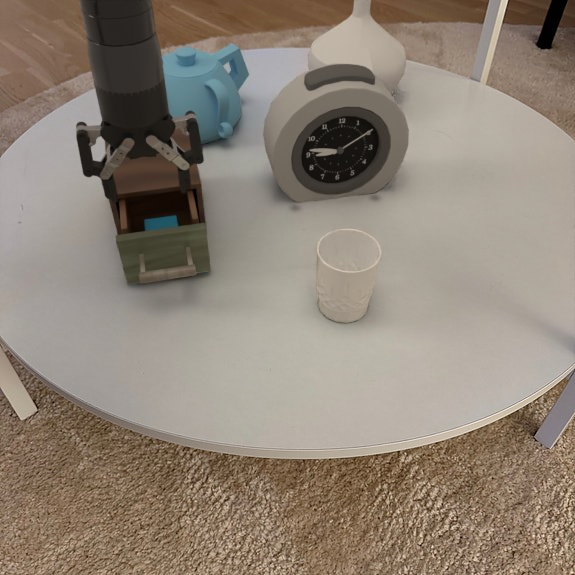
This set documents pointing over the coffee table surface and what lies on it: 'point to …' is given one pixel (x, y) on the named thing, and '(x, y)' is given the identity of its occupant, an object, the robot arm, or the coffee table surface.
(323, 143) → the alarm clock
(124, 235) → the drawer
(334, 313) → the white cup
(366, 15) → the vase
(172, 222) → the blue block
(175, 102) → the teapot
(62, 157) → the coffee table surface
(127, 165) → the cabinet
